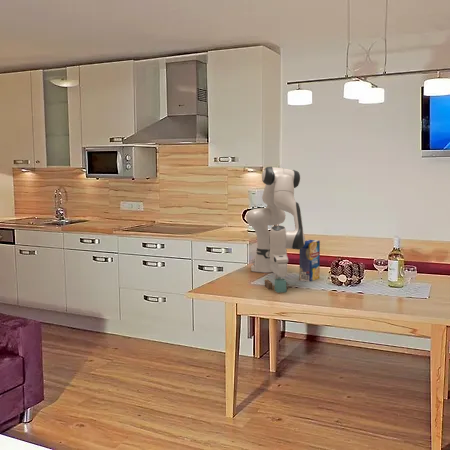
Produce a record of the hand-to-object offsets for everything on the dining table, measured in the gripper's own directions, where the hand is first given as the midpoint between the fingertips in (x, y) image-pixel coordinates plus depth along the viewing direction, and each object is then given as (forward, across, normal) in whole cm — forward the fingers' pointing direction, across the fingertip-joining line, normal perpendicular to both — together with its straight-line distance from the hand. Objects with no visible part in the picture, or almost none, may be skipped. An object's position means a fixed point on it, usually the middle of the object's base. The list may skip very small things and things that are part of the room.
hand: (278, 282), depth 304 cm
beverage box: (+4, -21, +24) cm, 32 cm away
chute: (+4, -5, 0) cm, 6 cm away
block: (+4, +4, 0) cm, 6 cm away
